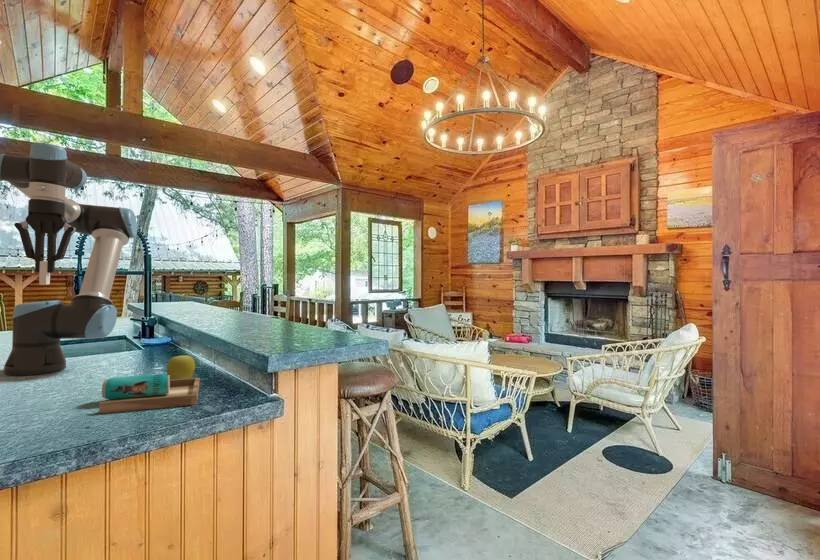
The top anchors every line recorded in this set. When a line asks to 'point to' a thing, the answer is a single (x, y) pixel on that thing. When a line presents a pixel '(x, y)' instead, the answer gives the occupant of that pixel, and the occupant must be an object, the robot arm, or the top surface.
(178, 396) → the wooden tray
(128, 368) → the top surface
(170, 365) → the apple
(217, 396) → the top surface
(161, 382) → the beverage can
